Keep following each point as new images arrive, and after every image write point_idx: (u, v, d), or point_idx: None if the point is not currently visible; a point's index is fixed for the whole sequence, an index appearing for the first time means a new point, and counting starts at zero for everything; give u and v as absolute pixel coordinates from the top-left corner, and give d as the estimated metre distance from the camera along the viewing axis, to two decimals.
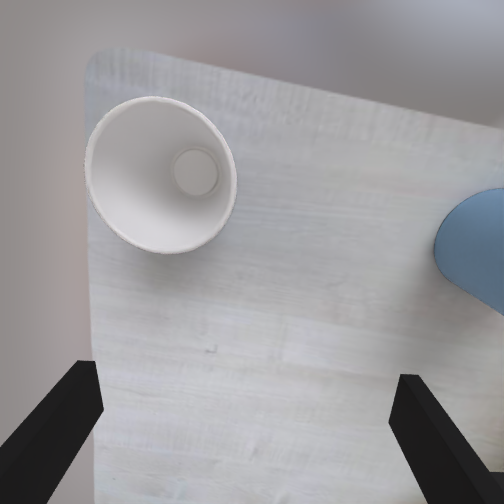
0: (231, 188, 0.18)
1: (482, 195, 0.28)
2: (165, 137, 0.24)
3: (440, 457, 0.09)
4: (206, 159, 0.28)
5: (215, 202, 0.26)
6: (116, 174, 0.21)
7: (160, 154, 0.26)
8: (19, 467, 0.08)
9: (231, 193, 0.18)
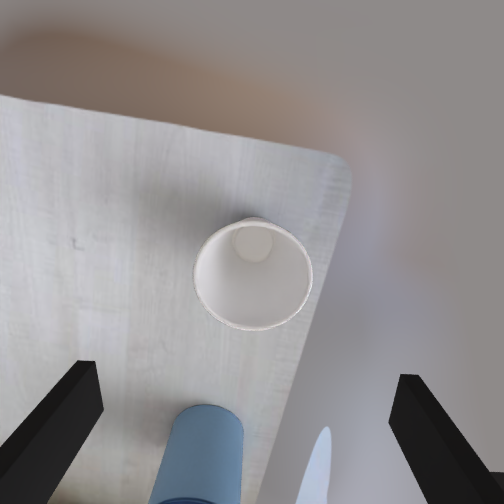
0: (248, 327, 0.25)
1: (239, 426, 0.42)
2: (283, 238, 0.29)
3: (440, 457, 0.09)
4: (264, 252, 0.33)
5: (231, 271, 0.31)
6: None
7: None
8: (19, 467, 0.08)
9: (244, 327, 0.25)
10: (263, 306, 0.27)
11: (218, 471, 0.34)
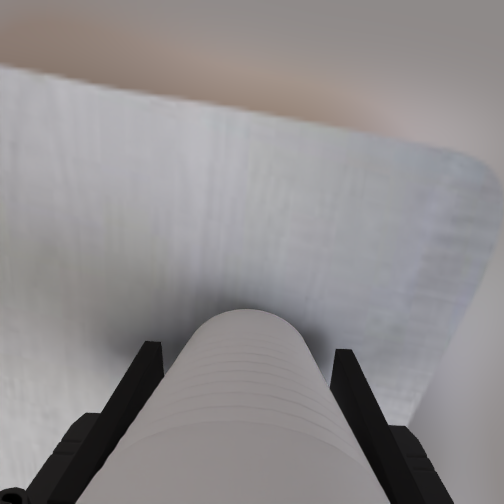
0: None
1: None
2: None
3: (354, 414, 0.11)
4: None
5: None
6: None
7: None
8: (122, 425, 0.10)
9: None
10: None
11: None
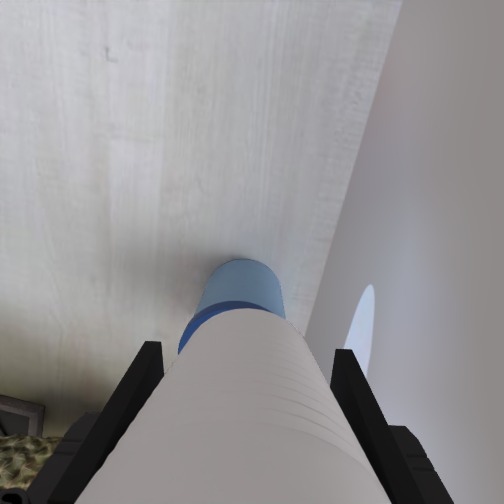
0: None
1: (277, 281, 0.39)
2: None
3: (354, 414, 0.11)
4: None
5: None
6: None
7: None
8: (122, 425, 0.10)
9: None
10: None
11: (264, 293, 0.31)
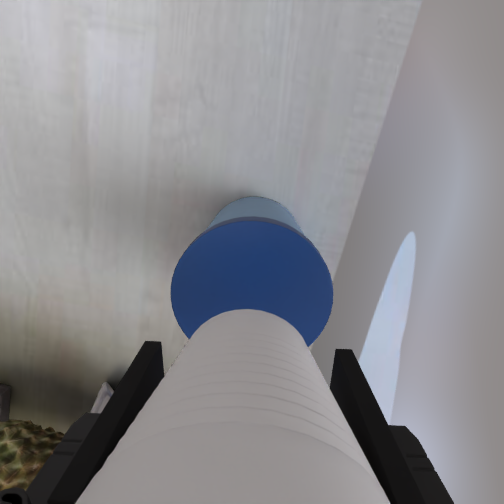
0: None
1: None
2: None
3: (354, 414, 0.11)
4: None
5: None
6: None
7: None
8: (122, 425, 0.10)
9: None
10: None
11: (288, 221, 0.23)
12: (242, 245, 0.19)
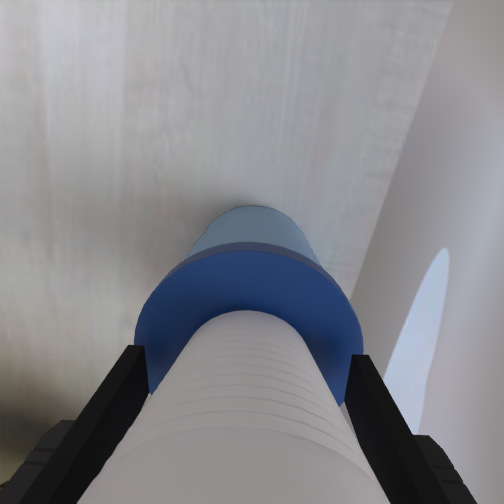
0: None
1: None
2: None
3: (375, 423, 0.10)
4: None
5: None
6: None
7: None
8: (97, 433, 0.09)
9: None
10: None
11: (297, 242, 0.18)
12: (233, 285, 0.13)
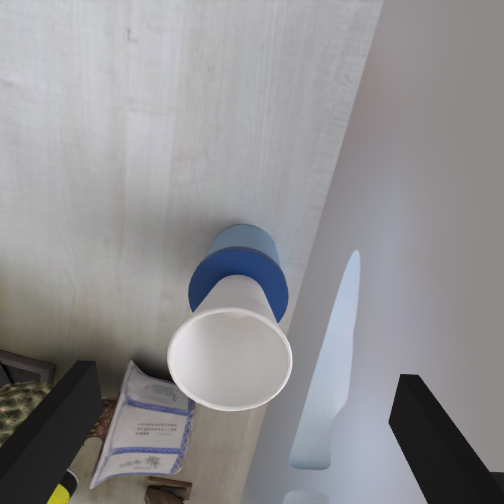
0: (225, 407, 0.24)
1: (274, 245, 0.44)
2: None
3: (440, 457, 0.09)
4: None
5: (213, 333, 0.30)
6: None
7: None
8: (19, 467, 0.08)
9: (222, 408, 0.23)
10: (243, 378, 0.26)
11: (263, 246, 0.36)
12: (232, 264, 0.31)
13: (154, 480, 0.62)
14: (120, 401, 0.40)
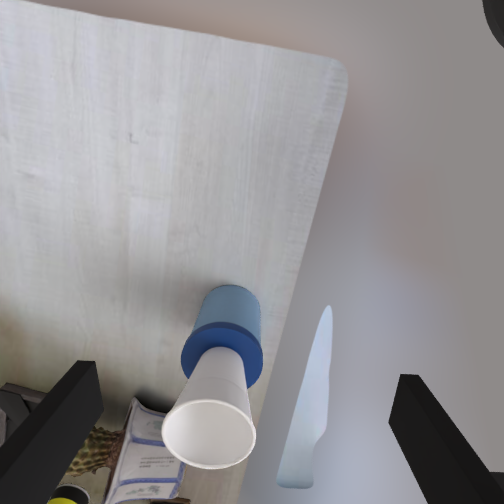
0: (207, 466, 0.31)
1: (257, 302, 0.51)
2: None
3: (440, 457, 0.09)
4: None
5: None
6: None
7: None
8: (19, 467, 0.08)
9: (204, 467, 0.31)
10: (222, 438, 0.33)
11: (244, 314, 0.43)
12: (216, 338, 0.38)
13: None
14: (126, 440, 0.47)
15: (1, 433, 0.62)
